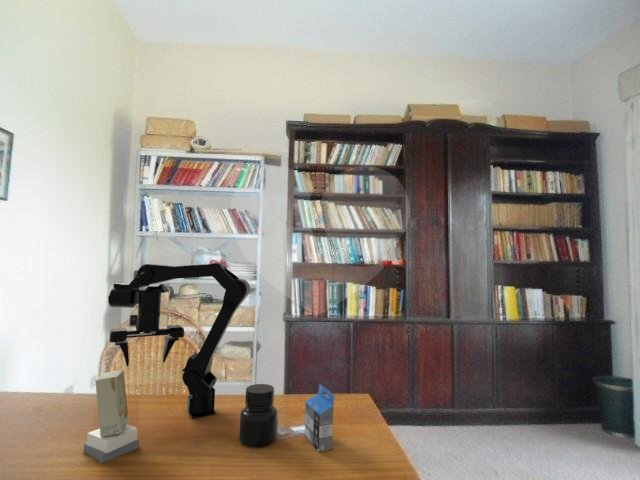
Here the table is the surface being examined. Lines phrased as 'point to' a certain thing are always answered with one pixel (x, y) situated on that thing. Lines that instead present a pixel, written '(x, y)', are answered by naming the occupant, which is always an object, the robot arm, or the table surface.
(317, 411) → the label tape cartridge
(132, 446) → the tower bottom
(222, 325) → the robot arm
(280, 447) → the table surface
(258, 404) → the ink bottle
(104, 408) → the skincare box
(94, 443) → the tower top
